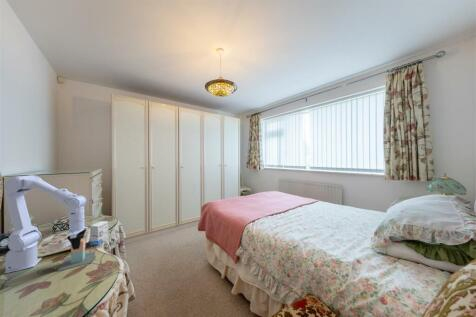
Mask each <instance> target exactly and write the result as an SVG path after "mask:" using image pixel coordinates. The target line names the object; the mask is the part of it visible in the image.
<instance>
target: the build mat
mask: <svg viewBox="0 0 476 317" xmlns="http://www.w3.org/2000/svg"><path fill="white" fill-rule="evenodd" d="M95 254H96V251H91V252H87V253H85V258H84V260H83V261H81V262H77V263H73V264H71V256H69V257H66V258H65V259H64V261H63V262H62V264H61V265H60V266H59V268H58V270H57V272H59V271H60V272H61V271H64V270H68V269H72V268H76V267H80V266H85V265H89V264H91V263H92V262H93V258H94V256H95Z"/></svg>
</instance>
